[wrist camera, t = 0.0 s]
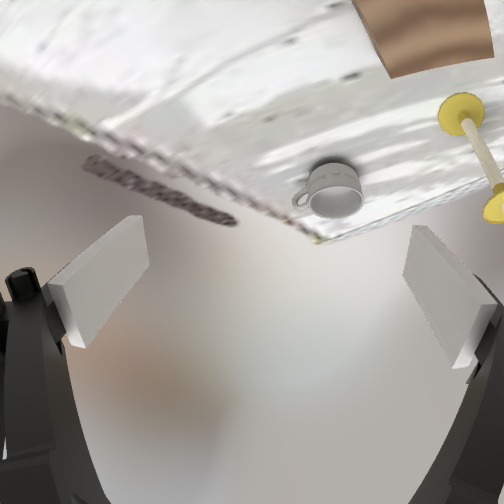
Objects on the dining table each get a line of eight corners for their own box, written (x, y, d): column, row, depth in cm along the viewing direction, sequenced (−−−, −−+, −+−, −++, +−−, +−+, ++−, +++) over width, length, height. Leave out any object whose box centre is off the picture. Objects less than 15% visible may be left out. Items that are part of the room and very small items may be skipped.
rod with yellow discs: (492, 105, 36) (581, 312, 19) (467, 141, 45) (528, 338, 27) (453, 83, 35) (552, 313, 18) (428, 125, 44) (490, 341, 27)
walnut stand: (328, -39, 23) (338, -32, 19) (436, -62, 15) (465, -54, 11) (376, 53, 35) (390, 79, 31) (468, 33, 27) (494, 57, 23)
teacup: (359, 153, 54) (365, 185, 50) (358, 189, 63) (362, 220, 59) (287, 158, 57) (286, 189, 53) (294, 193, 66) (294, 223, 62)
